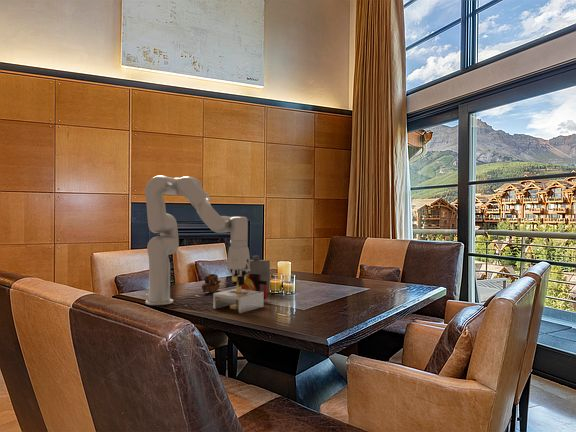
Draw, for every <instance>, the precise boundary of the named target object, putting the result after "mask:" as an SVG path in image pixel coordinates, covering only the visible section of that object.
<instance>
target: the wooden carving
mask: <svg viewBox="0 0 576 432" xmlns="http://www.w3.org/2000/svg"><path fill="white" fill-rule="evenodd" d="M203 281H204V283H202V284H201V290H202V293H206V294H207V293H216V292H217V291H218V290H219V288H220V287H221V285H220V283H221V282H222V280H219V276H218V274H215V273H208V274H207V275H205V276H204V280H203Z"/></svg>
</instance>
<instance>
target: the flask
mask: <svg viewBox="0 0 576 432" xmlns="http://www.w3.org/2000/svg"><path fill="white" fill-rule="evenodd" d="M270 261H271V260H269V259H260V255H252V259H250V270H251V271H249V272H247V273H246V274H259V275H261V281H267V294H269V293H270V292H271V291H270V286H271V285H270V284H271V283H270V280H271V279H270V278H271V277H270V275H271V274H270V273H271V270H270V269H271V267H270V266H271V262H270ZM242 272H243V271H242ZM261 292H264V284H261Z"/></svg>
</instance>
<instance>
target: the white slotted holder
mask: <svg viewBox="0 0 576 432" xmlns="http://www.w3.org/2000/svg"><path fill="white" fill-rule="evenodd" d="M212 293H213V294H212V295H213V298H212V304H213V305H212V307H213V308H212V309H215V310H216V309H219V308H224V307H227V306H228V307H229V306H230V305H232V304H236V300H239V309H238V313H239V314H242V313H246V312H250V311H253V310H257V309H260V308H264V303H265V301H264V300H265V299H264V292H260V291H252V290H244V289H241V294H236V288H232V289H228V290H223V291H219V292H212Z"/></svg>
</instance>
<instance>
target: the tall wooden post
mask: <svg viewBox="0 0 576 432" xmlns="http://www.w3.org/2000/svg"><path fill="white" fill-rule="evenodd" d="M239 276H240V274H238V275H237V276H233V275H231V282H233V281H234V282H236V285H235V289H236V294H241V285H239ZM244 280H246V275H245V276H244ZM229 309H230V310H234V311H235V310H239V300H236V304H232V305H229Z"/></svg>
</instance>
